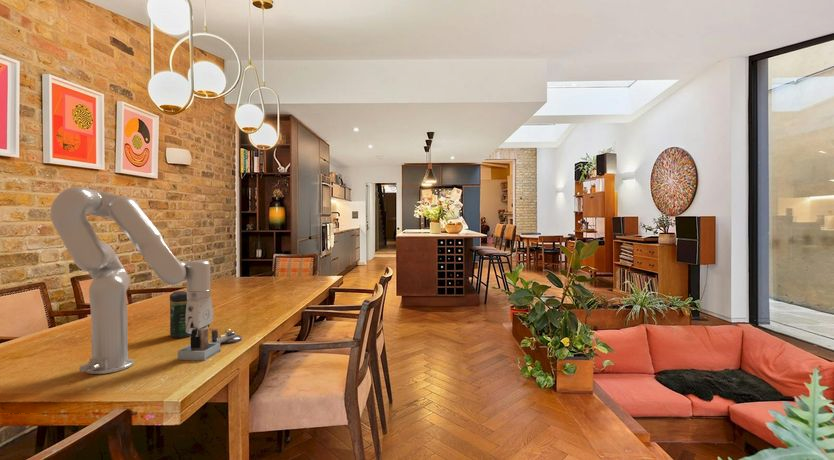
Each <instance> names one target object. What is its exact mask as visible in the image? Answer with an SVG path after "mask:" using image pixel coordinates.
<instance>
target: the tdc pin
mask: <svg viewBox="0 0 834 460" xmlns="http://www.w3.org/2000/svg"><path fill="white" fill-rule="evenodd" d="M229 331H232V330H231V328H226V329H225V331H224V332H225V333H224V335H227V332H229Z"/></svg>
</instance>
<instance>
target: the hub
mask: <svg viewBox="0 0 834 460" xmlns="http://www.w3.org/2000/svg"><path fill="white" fill-rule="evenodd" d="M241 341H242V335H240V334H235V337H233V338H231V339H229V340H226V341H224V342H222V343H221V344H235V343H238V342H241Z"/></svg>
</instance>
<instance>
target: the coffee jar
mask: <svg viewBox="0 0 834 460" xmlns="http://www.w3.org/2000/svg"><path fill="white" fill-rule="evenodd" d="M169 295H170V296H169V307H170V309H169V318H170V320H169V334H170V337H172V338H176V339H177V338H178V339H179V338H181V339H182V338H187V337H190V336H189V334H188V333H187V332H186V328H187V327H186V306H187V301H188V300H187V291H185V290H177V291H173V292H172V293H171V294H169Z"/></svg>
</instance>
